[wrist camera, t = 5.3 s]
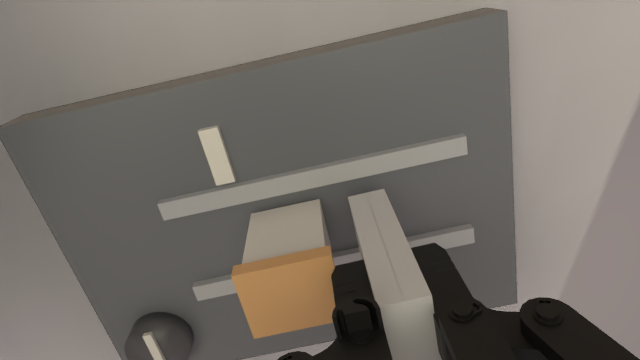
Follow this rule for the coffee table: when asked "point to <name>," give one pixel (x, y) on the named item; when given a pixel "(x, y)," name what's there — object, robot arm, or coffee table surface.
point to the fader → (286, 270)
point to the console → (276, 176)
